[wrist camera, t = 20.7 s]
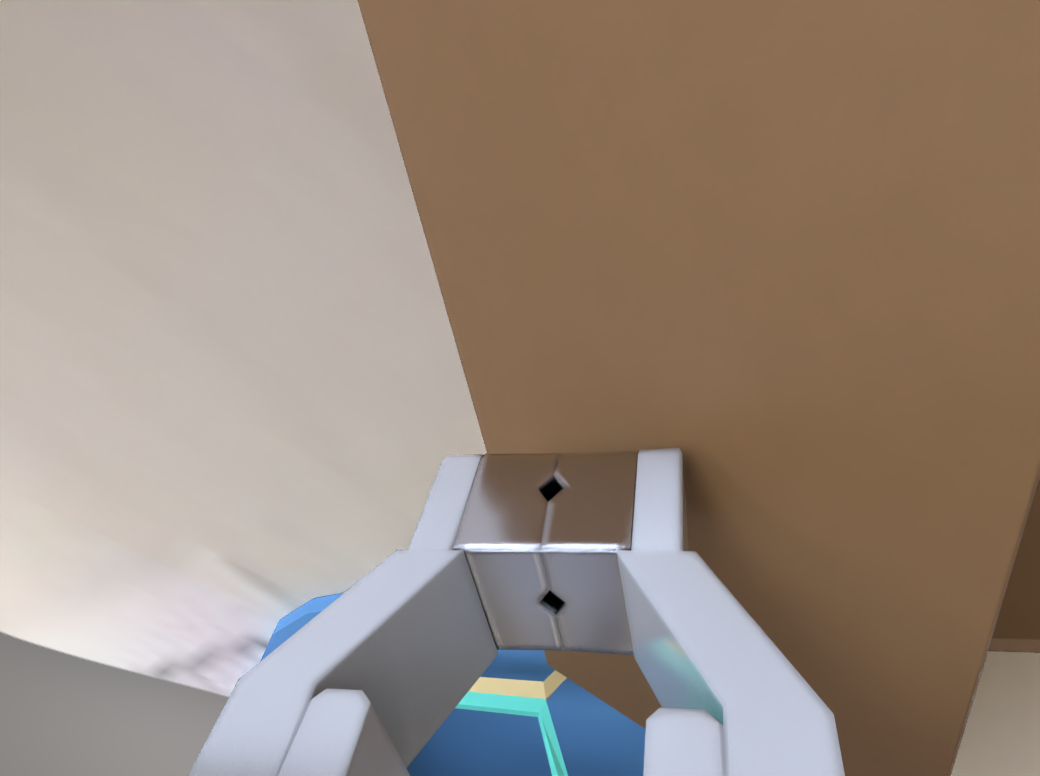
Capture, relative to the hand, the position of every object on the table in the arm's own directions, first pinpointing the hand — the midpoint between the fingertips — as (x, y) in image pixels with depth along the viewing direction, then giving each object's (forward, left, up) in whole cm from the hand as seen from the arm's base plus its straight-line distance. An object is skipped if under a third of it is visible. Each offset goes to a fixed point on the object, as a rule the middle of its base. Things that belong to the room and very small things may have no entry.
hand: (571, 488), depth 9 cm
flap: (+1, 0, 0) cm, 1 cm away
